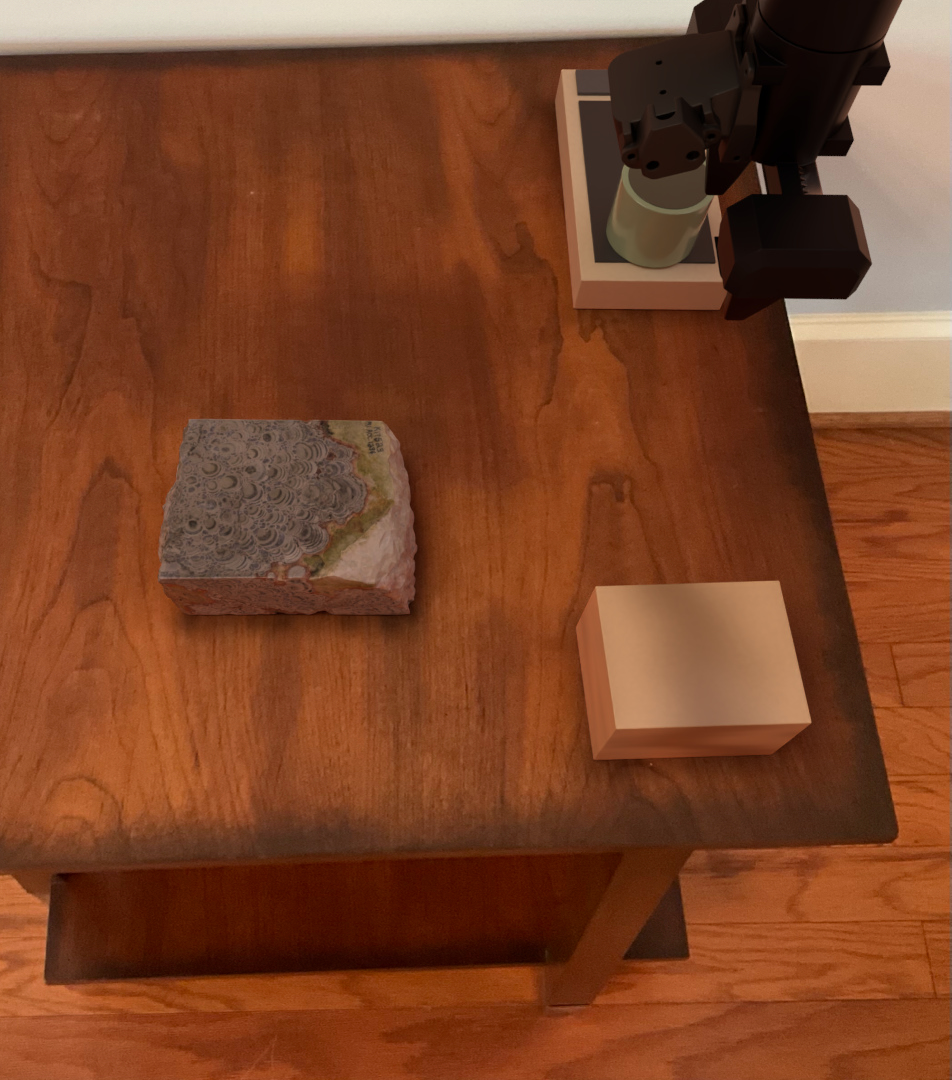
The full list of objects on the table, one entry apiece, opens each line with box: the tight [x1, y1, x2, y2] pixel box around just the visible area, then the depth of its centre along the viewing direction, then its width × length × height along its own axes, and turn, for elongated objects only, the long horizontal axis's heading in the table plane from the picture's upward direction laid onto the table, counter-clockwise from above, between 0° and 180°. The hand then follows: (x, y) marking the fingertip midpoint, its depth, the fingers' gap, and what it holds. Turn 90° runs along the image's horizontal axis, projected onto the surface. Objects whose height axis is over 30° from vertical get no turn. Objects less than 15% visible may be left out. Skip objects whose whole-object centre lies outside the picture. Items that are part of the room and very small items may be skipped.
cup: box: [606, 160, 714, 268], centre depth 71 cm, size 6×6×5 cm
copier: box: [554, 68, 727, 311], centre depth 77 cm, size 20×10×4 cm, turn 179°
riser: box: [575, 580, 812, 761], centre depth 60 cm, size 10×8×6 cm
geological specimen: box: [157, 418, 418, 616], centre depth 65 cm, size 11×6×15 cm
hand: (722, 253), depth 62 cm, fingers open, 9 cm apart
